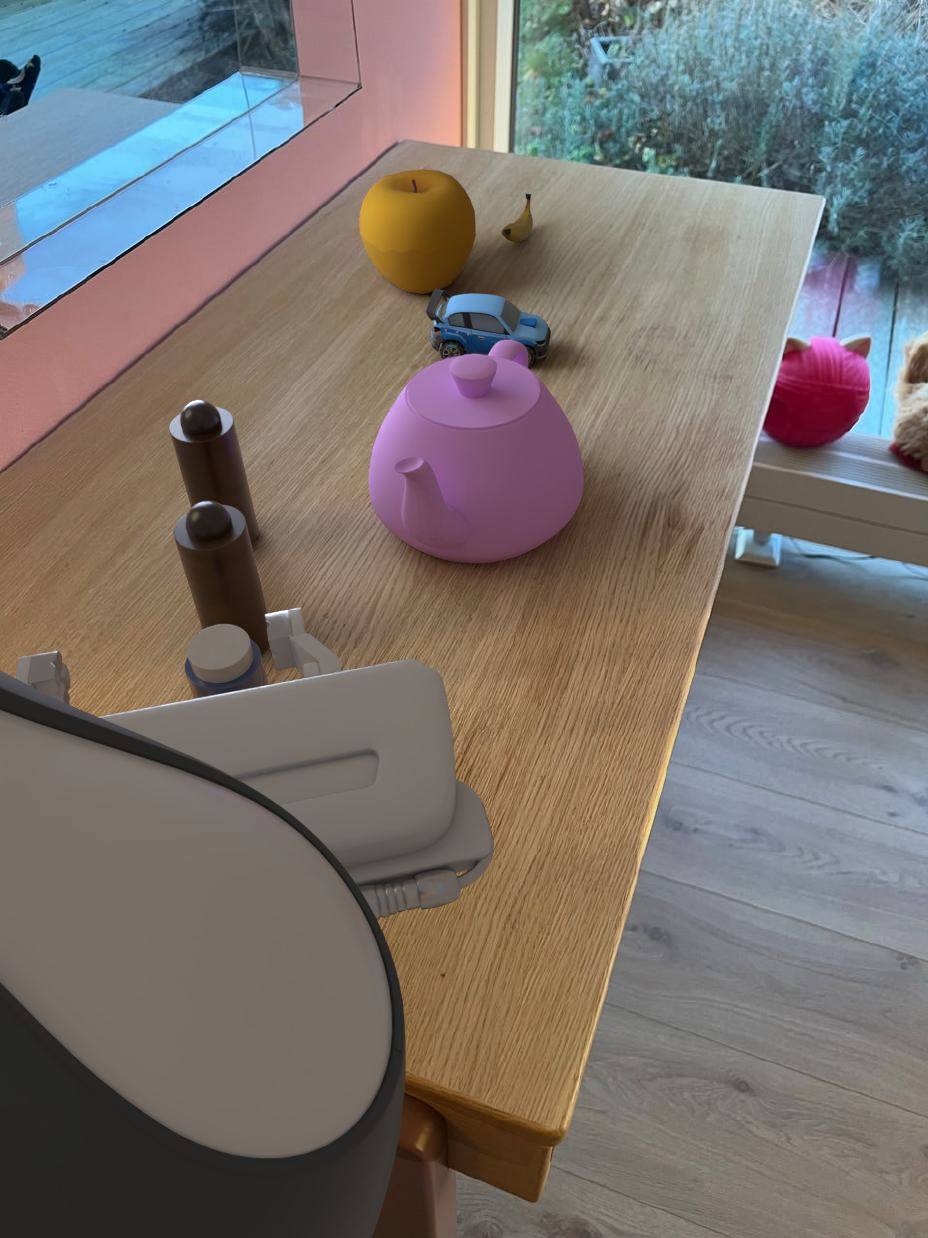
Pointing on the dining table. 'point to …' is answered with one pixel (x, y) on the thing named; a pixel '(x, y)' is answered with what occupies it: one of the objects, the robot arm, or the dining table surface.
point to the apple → (418, 229)
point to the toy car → (484, 325)
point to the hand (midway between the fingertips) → (167, 642)
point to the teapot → (476, 460)
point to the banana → (520, 225)
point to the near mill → (222, 569)
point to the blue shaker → (223, 661)
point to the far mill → (212, 459)
